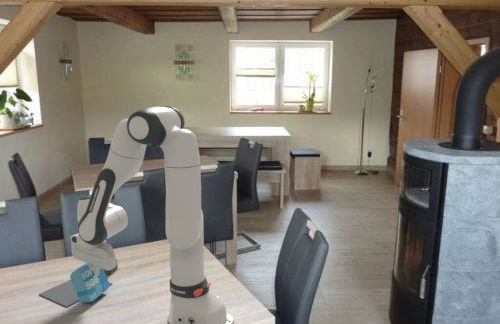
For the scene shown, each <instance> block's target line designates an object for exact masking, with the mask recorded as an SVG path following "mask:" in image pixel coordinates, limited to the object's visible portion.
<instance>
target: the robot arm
mask: <svg viewBox="0 0 500 324" xmlns="http://www.w3.org/2000/svg"><path fill="white" fill-rule="evenodd" d="M147 146H149V147H150V148H153V149H157V148H159V147H160V148H161V150H162V152H163V157H164V158H163V161H164V177H165V235H166V236H165V237H166V239H167V242H168V243H169V248H170V249H169V269H170V279H169V291H170V294H171V295H170V296H171V297H170V307H169V314H168V317H167V321H168V324H234V321H235V319H234V316H232V315H231V314H229V313H227V308H226V306H225V303H224V302H223V301H222V300H221V298H220V297H219V296H217V295H216V294H215V293H214V292H213V291H212V290H211V289H210V287H211V286H212V281H210V282H208V280H207V278H206V277H207V276H206V275H205V256H204V253H205V251H204V250H205V249H204V248H205V244H204V243H205V242H204V241H205V240H204V239H205V238H204V237H205V235H204V232H205V231H204V228H205V227H204V226H205V225H204V213H203V209H202V178H201V177H202V176H201V156H200V149H199V144H198V140H197V136H196V134H195V133H194V132H193V131H191V130H189V129H186V128H185V118H184V115H183V113H182V112H181V111H180V110H179V109H177V108H176V107H172V106H166V105H165V106H150V107H147V108H141V109H138V110H136V111H134V112H133V113H131V114H130V116H129V117H128V118H124V119H122V120H121V121H119V122H118V124H117V126H116V128H115V131H114V133H113V137H112V140H111V143H110V147H109V151H108V154H107V158H106V160H105V163H104V166H103V167H102V169H101V170H100V172H99V174H98V176H97V178H96V180H95V183H94V186H93V189H92V193H91V194H89V195H86V196H82V197H80V199H78V202H77V209H76V210H77V211H76V212H77V213H76V214H77V216H76V217H77V222H78V225H77V226H78V227H77V233H75V234H73V235H70V237H69V239H70V242H71V244H70V245H71V247H70V248H71V255H72V257H73V258H74V259H75V260H77V261H80V262H82V263H83V262H84V263H88V267H89V269H90V270H91V275H94V276H98V275H99V270H100V268H102V269H105V270H108V271H109V270H111V269H113V268H115V267H116V265H117V266H118V262H117V263H116V258H117V256H116V252H115V249H114V248H113V246H112V245H111V244H110V243H108V242H107V239H109V238H112V237H113V236H115V235H116V234H118V233H120V232H121V231H123V230H125V229H126V228H127V227H128V224H129V214H128V212H127V210H126V209H125V208H124V207H122V205H117V204H113V203H112V202H111V200H112V198H113V196H114V194H115V193H116V191H118V190H119V188H120V187H122V186H123V185H124V184H125V183H127V182H128V181H130V180H131V179H133V178H134V177H135V176H137V174H138V173H139V171H140V169H141V168H142V165H143V161H144V159H145V153H146V149H147Z"/></svg>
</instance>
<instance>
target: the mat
mask: <svg viewBox="0 0 500 324" xmlns="http://www.w3.org/2000/svg"><path fill="white" fill-rule="evenodd" d="M108 282H109V287H110V286H112V285H113V283H112V282H110V281H108ZM38 295H39V296H41V297H43V298H45V299H48V300H50V301H52V302H54V303H56V304H58V305H60V306H63V307H65V308H69V307H71V306H72V305H74V304H77V303H78V302H80V300H79V298H78V296H77V293H76V291H75V288H74V286H73V284H72V281H71V279H69V280H67V281H65V282H63V283H62V282H61V284H58V285H56V286H54V287H52V288H49V289H47V290H44V291H42V292H41V293H39V294H38Z"/></svg>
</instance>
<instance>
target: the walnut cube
mask: <svg viewBox="0 0 500 324" xmlns="http://www.w3.org/2000/svg"><path fill="white" fill-rule="evenodd" d="M116 263H117V265H116V267H115V268H113V269H111V270H109V271H108V270H105V269H104V272H105V274H106V275H113V274H114V273H115V272H116V271H118V270H119V268H118V267H119V266H118V258H117V257H116Z"/></svg>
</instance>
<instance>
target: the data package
mask: <svg viewBox="0 0 500 324" xmlns="http://www.w3.org/2000/svg"><path fill="white" fill-rule="evenodd" d="M69 280H71V281H72V284H73V286H74V288H75V291H76V293H77V296H78V298H79V300H80V301H79V302H80V303H81V304H87V303H93V301H95V300H97V298H98V297H100V296H101V295H102V294H103V293H104V292H106V291H107V290H108V289H109V288H110V286H109V282H110V281H109V279H108V277H107V274H105V272H104V269H102V268H100V270H99V275H98V276H94V275H91V270H90V269H89V267H88V263H86V262H84V264H83V265H81V266H79V267H78V268H77V269H75V270H74V271H72V272H71V273H70V276H69Z"/></svg>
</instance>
